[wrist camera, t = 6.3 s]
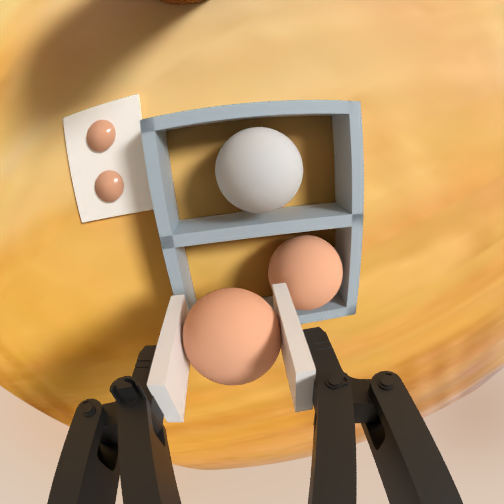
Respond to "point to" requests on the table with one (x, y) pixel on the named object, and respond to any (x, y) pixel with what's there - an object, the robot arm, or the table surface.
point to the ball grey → (259, 170)
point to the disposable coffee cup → (181, 1)
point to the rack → (271, 223)
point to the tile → (108, 159)
